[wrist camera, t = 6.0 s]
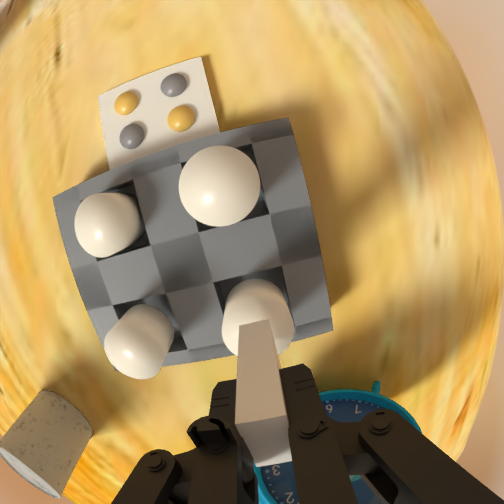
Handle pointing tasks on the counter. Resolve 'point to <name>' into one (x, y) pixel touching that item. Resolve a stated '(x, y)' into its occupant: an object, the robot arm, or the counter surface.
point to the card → (157, 112)
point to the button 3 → (219, 186)
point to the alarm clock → (342, 410)
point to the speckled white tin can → (46, 442)
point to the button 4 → (257, 313)
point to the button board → (204, 245)
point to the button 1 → (108, 223)
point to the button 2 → (139, 341)
